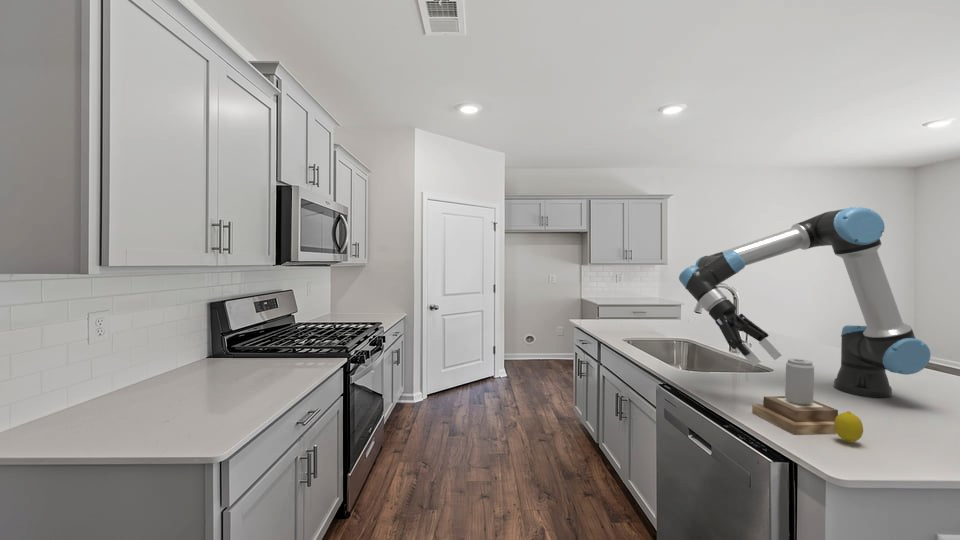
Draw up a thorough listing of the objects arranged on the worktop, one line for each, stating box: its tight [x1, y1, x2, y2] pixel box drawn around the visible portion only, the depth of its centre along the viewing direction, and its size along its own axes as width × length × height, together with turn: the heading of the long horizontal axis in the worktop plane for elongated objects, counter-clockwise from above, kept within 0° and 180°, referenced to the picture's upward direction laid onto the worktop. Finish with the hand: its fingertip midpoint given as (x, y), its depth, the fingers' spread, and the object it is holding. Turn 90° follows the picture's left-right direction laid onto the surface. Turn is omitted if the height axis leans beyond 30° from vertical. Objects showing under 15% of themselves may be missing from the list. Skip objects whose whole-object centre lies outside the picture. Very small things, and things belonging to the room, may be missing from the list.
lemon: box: [834, 411, 864, 444], centre depth 108 cm, size 6×6×8 cm
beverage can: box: [784, 358, 815, 406], centre depth 121 cm, size 6×6×12 cm
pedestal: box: [751, 395, 839, 435], centre depth 122 cm, size 16×16×6 cm
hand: (768, 360), depth 128 cm, fingers open, 13 cm apart
